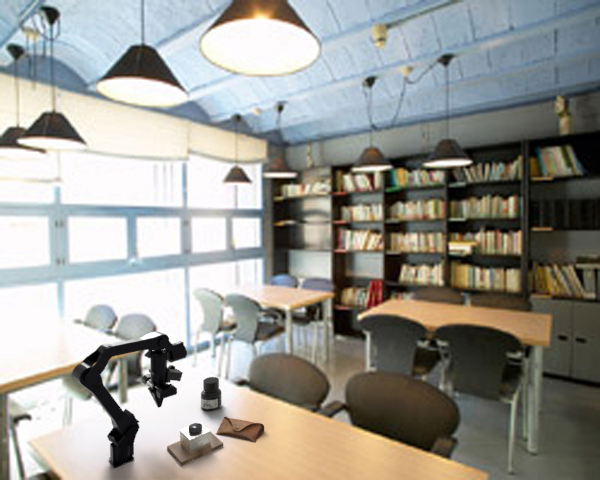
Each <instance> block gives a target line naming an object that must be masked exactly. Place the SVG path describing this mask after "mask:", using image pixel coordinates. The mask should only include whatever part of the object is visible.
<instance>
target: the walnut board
mask: <svg viewBox="0 0 600 480" xmlns="http://www.w3.org/2000/svg"><path fill="white" fill-rule="evenodd" d="M222 447H224V442H223V441H221V440H220V439H219V438H218V437H217V436H216V434H213V433H212V432H211V445H210V446H208V447H206V448H203V449H201V450H199V451H197V452H195V453H192V454H189V453H188V452H187V451H186V450H185V449H184V448H183V447H182V445H181V444H180V440H179V441H176V442H174V443H172V444H169V445H167V446H166V450H167V451H168V452H169V453H170V455H171V456H173V458H174V459H175V460H176V461H177V462H178V464H179V465H180V466H181V467H182V466H184V465H186V464H189V463H190V462H193V461H194V460H198V459H200V458H202V457H204V456H205V455H208V454H210V453H212V452H214V451H216V450H218V449H220V448H222Z"/></svg>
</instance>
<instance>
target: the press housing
mask: <svg viewBox="0 0 600 480" xmlns="http://www.w3.org/2000/svg"><path fill="white" fill-rule="evenodd" d="M198 423H200V424H202V431H200V432H199V433H195V434H192V433H189V431H188V427H189V426H186V427H184V428H182V429H180V430H179V441H180V444H181V445H182V447H183V448H184V449H185V450H186V451H187V452H188V453H189V454H192V453H195V452H197V451H199V450H201V449H203V448H206V447H208V446H210V445H211V433H212V432H211V430H210V429H209V428H208V427H207V426H206V425H205V424H204V423H202V422H201V421H200V422H198Z"/></svg>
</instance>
